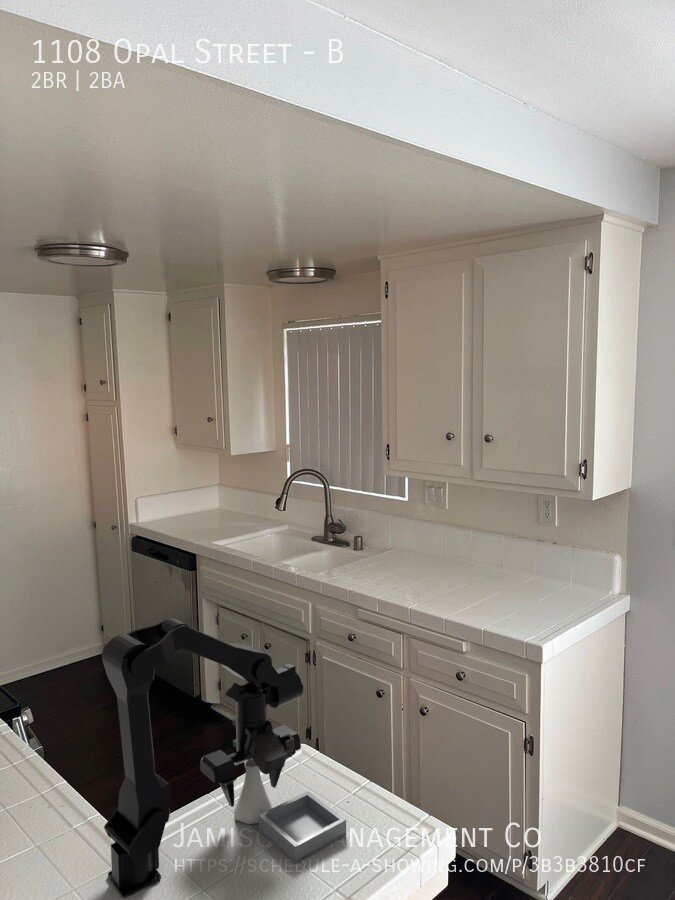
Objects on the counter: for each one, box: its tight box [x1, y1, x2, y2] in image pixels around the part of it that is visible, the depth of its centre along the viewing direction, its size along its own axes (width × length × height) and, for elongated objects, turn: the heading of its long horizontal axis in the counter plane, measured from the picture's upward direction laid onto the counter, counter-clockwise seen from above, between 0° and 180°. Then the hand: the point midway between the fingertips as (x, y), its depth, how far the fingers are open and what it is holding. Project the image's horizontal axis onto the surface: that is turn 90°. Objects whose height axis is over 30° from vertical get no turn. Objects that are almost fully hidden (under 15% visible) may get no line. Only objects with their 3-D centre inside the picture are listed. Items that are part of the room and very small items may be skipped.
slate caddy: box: [258, 791, 347, 865], centre depth 121 cm, size 11×11×3 cm
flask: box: [234, 758, 273, 825], centre depth 127 cm, size 7×7×10 cm
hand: (252, 796), depth 127 cm, fingers open, 9 cm apart
